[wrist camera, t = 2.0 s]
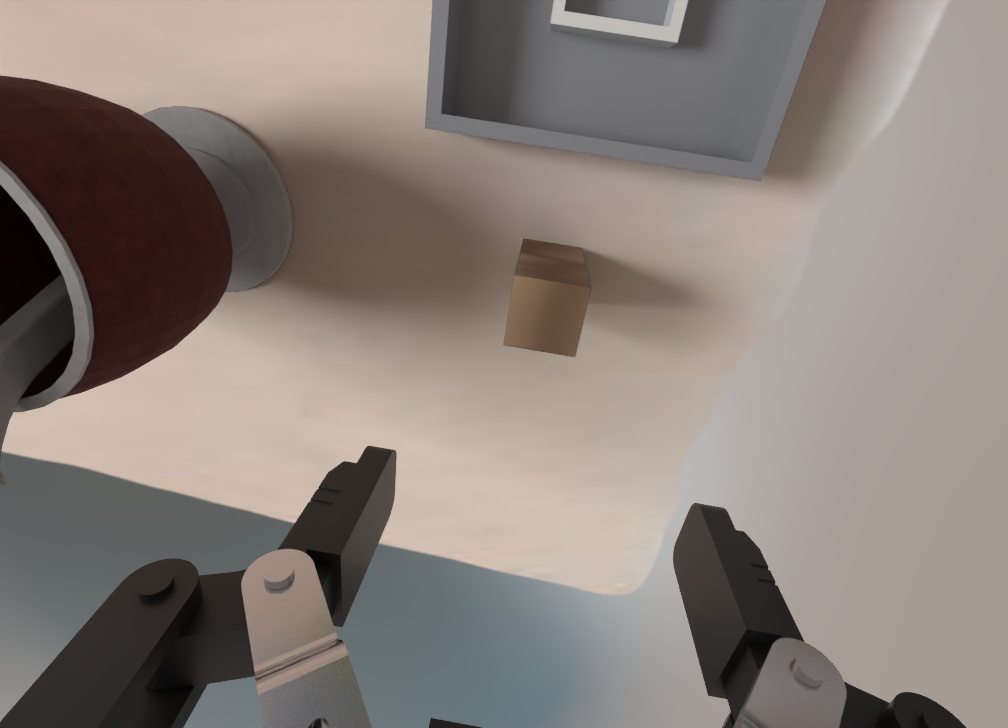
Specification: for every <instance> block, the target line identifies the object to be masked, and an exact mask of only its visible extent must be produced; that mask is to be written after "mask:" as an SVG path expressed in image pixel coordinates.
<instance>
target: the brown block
mask: <svg viewBox="0 0 1008 728" xmlns="http://www.w3.org/2000/svg"><path fill="white" fill-rule="evenodd" d="M590 290H591V285H590V281H589V277H588V273H587V268H586V264H585V260H584V256H583V251H582V248H578V247H572V246H565V245H559V244H553V243H547V242H541V241H534V240H528V239H523V243H522V247H521V251H520V255H519V258H518V262H517V266H516V270H515V274H514V279H513V286H512V292H511V299H510V305H509V312H508V318H507V325H506V331H505V338H504V344H503V345H505V346H511V347H517V348H523V349H529V350H535V351H541V352H547V353H553V354H559V355H565V356H571V357H575V355H576V351H577V347H578V342H579V338H580V334H581V329H582V325H583V321H584V316H585V312H586V308H587V303H588V299H589V295H590Z"/></svg>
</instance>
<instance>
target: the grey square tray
mask: <svg viewBox="0 0 1008 728" xmlns="http://www.w3.org/2000/svg"><path fill="white" fill-rule="evenodd" d="M825 3H826V0H433V4H432V21H431V38H430V55H429V72H428V89H427V106H426V123H425V128H427V129H434V130H440V131H446V132H453V133H459V134H465V135H472V136H478V137H484V138H491V139H497V140H503V141H509V142H516V143H522V144H528V145H535V146H541V147H547V148H554V149H560V150H566V151H573V152H579V153H585V154H592V155H598V156H604V157H611V158H617V159H623V160H630V161H636V162H642V163H649V164H655V165H661V166H668V167H674V168H680V169H686V170H693V171H699V172H705V173H712V174H718V175H724V176H731V177H737V178H743V179H750V180H756V181H761V180H762V177H763V175H764V172H765V169H766V166H767V164H768V161H769V158H770V155H771V152H772V150H773V147H774V144H775V141H776V139H777V136H778V133H779V130H780V127H781V125H782V122H783V119H784V116H785V114H786V111H787V108H788V105H789V103H790V100H791V97H792V94H793V91H794V89H795V86H796V83H797V80H798V78H799V75H800V72H801V69H802V66H803V64H804V61H805V58H806V55H807V53H808V50H809V47H810V44H811V41H812V39H813V36H814V33H815V30H816V28H817V25H818V22H819V19H820V16H821V14H822V11H823V8H824V5H825Z"/></svg>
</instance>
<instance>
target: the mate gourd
mask: <svg viewBox="0 0 1008 728" xmlns="http://www.w3.org/2000/svg"><path fill="white" fill-rule="evenodd" d="M292 234H293V214H292V206H291V203H290V199H289V195H288V191H287V188H286V186H285V184H284V182H283V179H282V177H281V175H280V173H279V171H278V169H277V168H276V166H275V165H274V163H273V162H272V160H271V159H270V157H269V155H268V154H267V153H266V152H265V151H264V150H263V148H262V147H261V146H260V145H259V144H258V143H257V142H256V141H255V139H254V138H252V137H251V136H250V135H249V134H247V133H246V132H245V131H244V130H243V129H241V128H240V127H239V126H238V125H236V124H234V123H232V122H231V121H229V120H227V119H226V118H224V117H222V116H220V115H218V114H215V113H212V112H209V111H206V110H203V109H198V108H191V107H183V106H173V107H164V108H158V109H155V110H153V111H150V112H147V113H145V114H143V115H142V116H141V115H139V114H137V113H136V112H134V111H132V110H130V109H128V108H125V107H123V106H120V105H117V104H115V103H112V102H109V101H107V100H104V99H101V98H98V97H95V96H92V95H89V94H86V93H84V92H81V91H77V90H73V89H69V88H65V87H61V86H57V85H53V84H49V83H45V82H41V81H37V80H31V79H23V78H16V77H8V76H0V458H1V450H2V444H3V441H4V437H5V434H6V430H7V427H8V423H9V420H10V418H11V416H12V414H13V412H24V411H28V410H32V409H36V408H40V407H44V406H46V405H48V404H50V403H52V402H53V401H55V400H57V399H60V398H63V397H67V396H71V395H74V394H78V393H82V392H84V391H87V390H89V389H92V388H95V387H97V386H100V385H102V384H105V383H108V382H110V381H113V380H115V379H118V378H121V377H123V376H124V375H126V374H128V373H130V372H132V371H134V370H135V369H137V368H139V367H141V366H143V365H144V364H146V363H148V362H149V361H151V360H153V359H155V358H156V357H158V356H160V355H161V354H163V353H165V352H167V351H168V350H170V349H172V348H173V347H175V346H176V345H177V344H178V343H179V342H180V341H181V340H183V339H184V338H185V337H186V336H187V335H188V334H189V333H191V332H192V331H193V330H194V329H195V328H196V327H197V326H198V325H199V324H200V323H201V322H202V321H203V320H204V319H205V318H206V317H207V316H208V315H209V314H210V313H211V312H212V310H213V309H214V308H215V307H216V305H217V304H218V303H219V301H220V299H221V298H222V296H223V294H224V292H239V291H242V290H246V289H250V288H253V287H255V286H256V285H258V284H260V283H262V282H264V281H265V280H267V279H269V278H270V277H271V276H272V275H273V274H274V273H275V272H276V271H277V270H278V269H279V268H280V267H281V265H282V263H283V262H284V260H285V259H286V257H287V254H288V251H289V248H290V246H291V243H292ZM5 483H6V482H5V479H4V476H3V474H2V472H1V471H0V486H2V485H4V484H5Z"/></svg>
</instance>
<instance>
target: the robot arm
mask: <svg viewBox="0 0 1008 728" xmlns="http://www.w3.org/2000/svg"><path fill="white" fill-rule="evenodd" d="M395 477H396V451H395V450H391V449H385V448H379V447H373V446H367V447H366V449H365V450H364V452H363V454H362V455H361V457H360V459H359V460H358V462H357V463H352V462H346V461H344V462H342V463H341V464H340V465H338V466H337V467H335V468H334V469H333V470H331V471H330V472H328V474H327V475H326V477H325V478H324V480H323V481H322V483H321V484H320V486H319V489H318V490H317V491H316V492H315V494H314V495H313V497H312V498H311V501H310V502H309V503H308V504H307V506H306V507H305V509H304V510H303V512H302V513H301V515H300V516H299V518H298V520H297V521H296V523H295V524H294V526H293V527H292V529H291V530H290V532H289V533H288V535H287V536H286V538H285V539H284V541H283V542H282V544H281V546H280V547H279V548H278V550H277V551H273V552H270V553H268V554H265V555H263V556H262V557H260V558H259V559H257V560H256V561H255V562H253V563H252V564H251V565H250V566H249V568H248V569H246V570H242V571H237V572H230V573H221V574H211V575H201V576H199V574H198V571H197V568H196V567H195V566H194V565H193V564H192V563H190V562H189V561H186V560H182V559H164V560H159V561H156V562H153V563H150V564H148V565H145V566H143V567H142V568H140V569H138V570H136V571H135V572H133V573H132V574H130V575H129V576H128V577H127V578H126V579H125V580H123V581H122V582H121V584H120V585H119V586H118V587H117V588H116V589H115V591H114V592H113V593H112V594H111V595H110V596H109V598H107V600H106V601H105V602H104V603H103V604H102V605H101V607H100V608H99V609H98V610H97V611H96V612H95V613H94V615H93V616H92V617H91V618H90V619H89V620H88V622H87V623H86V624H85V625H84V626H83V627H82V628H81V630H80V631H79V632H78V633H77V634H76V635H75V637H74V638H73V639H72V640H71V641H70V642H69V643H68V645H67V646H66V647H65V648H64V649H63V650H62V652H61V653H60V654H59V655H58V656H57V657H56V658H55V659H54V661H53V662H52V663H51V664H50V665H49V666H48V668H47V669H46V670H45V671H44V672H43V673H42V675H41V676H40V677H39V678H38V679H37V680H36V681H35V682H34V684H33V685H32V686H31V687H30V688H29V689H28V691H27V692H26V693H25V694H24V695H23V696H22V697H21V699H20V700H19V701H18V702H17V703H16V705H15V706H14V707H13V708H12V709H11V710H10V711H9V712H8V714H7V715H6V716H5V717H4V718H3V719H2V721H1V722H0V728H183V727H184V725H185V723H186V721H187V720H188V718H189V716H190V714H191V713H192V711H193V709H194V707H195V706H196V704H197V702H198V700H199V698H200V697H201V695H202V693H203V691H204V690H205V688H206V686H207V684H209V683H215V682H221V681H227V680H234V679H240V678H246V677H252V676H255V677H256V684H257V690H258V697H259V703H260V709H261V716H262V722H263V728H372V727H371V723H370V720H369V717H368V714H367V711H366V708H365V705H364V701H363V698H362V695H361V692H360V689H359V686H358V683H357V680H356V676H355V673H354V671H353V667H352V664H351V661H350V658H349V655H348V652H347V649H346V646H345V644H344V642H343V641H342V640H338V638H337V635H336V632H335V629H334V626H339V627H343V625H344V623H345V620H346V618H347V615H348V613H349V611H350V608H351V606H352V603H353V601H354V599H355V597H356V594H357V592H358V590H359V587H360V585H361V583H362V580H363V578H364V575H365V573H366V571H367V568H368V566H369V564H370V561H371V559H372V556H373V554H374V552H375V549H376V547H377V545H378V542H379V540H380V538H381V535H382V533H383V531H384V528H385V526H386V524H387V521H388V519H389V516H390V514H391V510H392V507H393V502H394V496H395ZM673 563H674V569H675V573H676V577H677V581H678V584H679V588H680V592H681V595H682V599H683V603H684V607H685V610H686V614H687V618H688V622H689V625H690V629H691V632H692V636H693V640H694V644H695V648H696V651H697V655H698V659H699V663H700V666H701V670H702V674H703V678H704V681H705V685H706V688H707V693H708V695H709V696H714V697H719V698H725V699H727V700H728V703H729V706H730V710H731V712H730V713H729V715H728V716H727V718H726V720H725V722H724V725H723V726H722V728H966V727H965V726H964V725H963V724H962V723H961V722H960V721H959V720H958V719H957V718H956V717H955V716H954V715H953V714H952V713H950V712H949V711H948V710H946V709H945V708H944V707H942V706H941V705H939V704H938V703H936V702H935V701H933V700H931V699H929V698H927V697H924V696H922V695H919V694H916V693H911V692H904V693H900V694H898V695H897V696H896V697H895V698H894V699H893V700H892V701H891V703H888V702H886V701H884V700H882V699H880V698H877V697H875V696H873V695H871V694H868V693H867V692H864V691H862V690H860V689H858V688H856V687H854V686H851V685H850V684H848V683H846V682H844V680H843V679H842V676H841V675H840V673H839V672H838V670H837V668H836V667H835V666H834V665H833V663H832V662H831V661H830V660H829V659H828V658H827V657H826V656H824V655H823V654H822V653H821V652H820V651H818V650H817V649H816V648H814V647H812V646H811V645H809V644H807V643H805V642H804V640H803V638H802V636H801V634H800V632H799V630H798V628H797V626H796V624H795V622H794V620H793V617H792V615H791V613H790V611H789V609H788V607H787V605H786V603H785V601H784V599H783V596H782V594H781V593H780V590H779V588H778V586H776V585H775V580H774V578H773V576H772V574H771V572H770V571H769V570H768V565H767V563H766V561H765V559H764V557H763V555H762V553H761V551H760V549H759V548H758V547H757V546H756V544H755V543H754V542H753V541H752V540H751V539H750V538H749V537H748V536H747V534H746V533H744V532H743V531H737V530H735V528H734V525H733V523H732V521H731V519H730V516H729V514H728V512H727V511H726V509H724V508H721V507H715V506H709V505H704V504H698V503H694V504H693V505H692V506H691V508H690V510H689V512H688V514H687V517H686V519H685V522H684V524H683V526H682V529H681V531H680V534H679V536H678V538H677V541H676V544H675V547H674V553H673ZM429 728H481V727H476V726H470V725H465V724H460V723H455V722H449V721H444V720H438V719H433V718H431V720H430V725H429Z"/></svg>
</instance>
